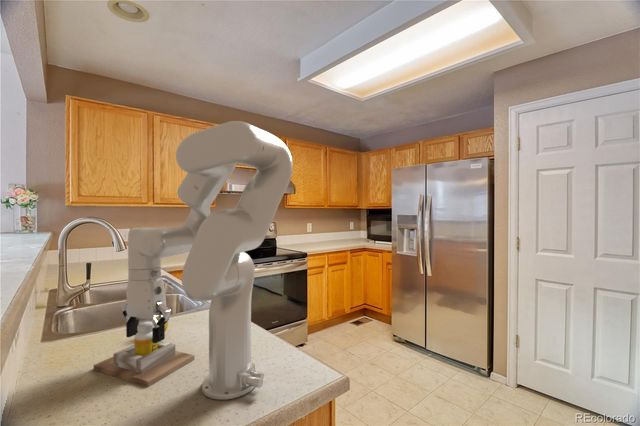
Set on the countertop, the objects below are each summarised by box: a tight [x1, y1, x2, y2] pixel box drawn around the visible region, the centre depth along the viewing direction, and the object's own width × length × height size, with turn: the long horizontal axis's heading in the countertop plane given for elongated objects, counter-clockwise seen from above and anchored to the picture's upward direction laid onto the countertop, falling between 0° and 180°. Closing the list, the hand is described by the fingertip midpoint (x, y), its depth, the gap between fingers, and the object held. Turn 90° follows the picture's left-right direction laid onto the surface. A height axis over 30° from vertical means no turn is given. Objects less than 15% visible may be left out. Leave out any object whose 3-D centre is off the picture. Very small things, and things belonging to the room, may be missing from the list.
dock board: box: [93, 340, 195, 387], centre depth 82 cm, size 20×14×4 cm
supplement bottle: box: [134, 321, 158, 356], centre depth 82 cm, size 5×5×10 cm
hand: (145, 338), depth 82 cm, fingers open, 9 cm apart
